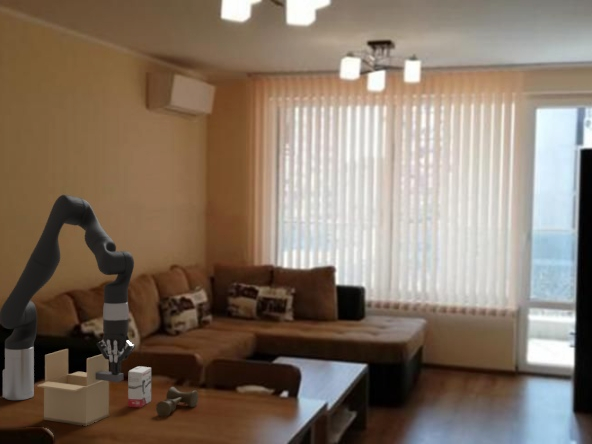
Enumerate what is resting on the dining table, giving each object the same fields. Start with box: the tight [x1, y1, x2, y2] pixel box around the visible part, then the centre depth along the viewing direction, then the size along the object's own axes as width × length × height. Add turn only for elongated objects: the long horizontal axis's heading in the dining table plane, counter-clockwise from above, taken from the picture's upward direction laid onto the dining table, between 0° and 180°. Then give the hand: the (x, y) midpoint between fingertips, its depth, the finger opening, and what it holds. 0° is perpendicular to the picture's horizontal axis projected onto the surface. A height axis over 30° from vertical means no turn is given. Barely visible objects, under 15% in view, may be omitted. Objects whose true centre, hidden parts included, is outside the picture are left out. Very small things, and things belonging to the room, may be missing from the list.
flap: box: [86, 353, 124, 385], centre depth 222 cm, size 8×10×9 cm
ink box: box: [127, 365, 152, 408], centre depth 243 cm, size 9×5×12 cm, turn 168°
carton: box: [36, 348, 110, 427], centre depth 227 cm, size 16×19×20 cm
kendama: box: [155, 386, 199, 418], centre depth 239 cm, size 6×10×20 cm
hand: (115, 373), depth 221 cm, fingers closed
